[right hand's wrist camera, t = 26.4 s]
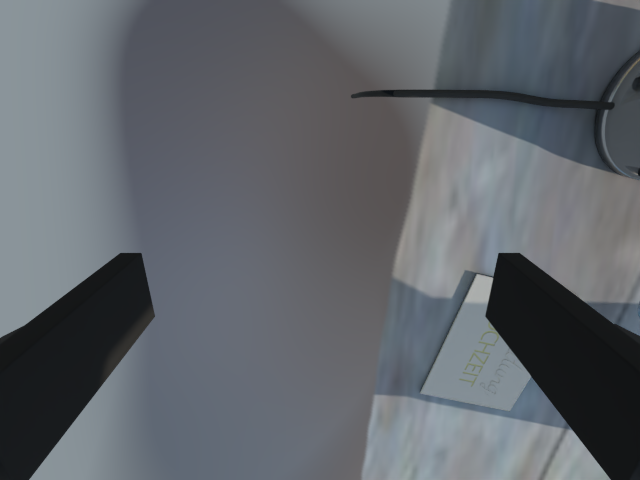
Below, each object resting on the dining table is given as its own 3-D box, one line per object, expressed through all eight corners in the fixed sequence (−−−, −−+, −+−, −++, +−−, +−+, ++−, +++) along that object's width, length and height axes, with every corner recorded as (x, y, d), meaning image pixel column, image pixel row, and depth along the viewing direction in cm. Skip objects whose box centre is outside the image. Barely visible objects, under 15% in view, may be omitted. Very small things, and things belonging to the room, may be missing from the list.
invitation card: (477, 274, 45) (580, 298, 46) (476, 273, 45) (579, 297, 46) (420, 394, 52) (510, 411, 54) (419, 392, 53) (509, 410, 54)
